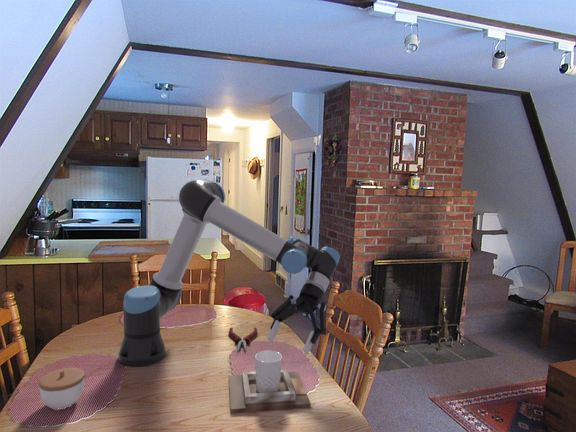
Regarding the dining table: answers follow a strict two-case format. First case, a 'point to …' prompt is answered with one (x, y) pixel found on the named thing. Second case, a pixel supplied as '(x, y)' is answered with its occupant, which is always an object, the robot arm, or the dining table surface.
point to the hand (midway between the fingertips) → (286, 346)
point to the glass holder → (251, 400)
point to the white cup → (268, 371)
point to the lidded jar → (61, 387)
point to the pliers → (245, 340)
